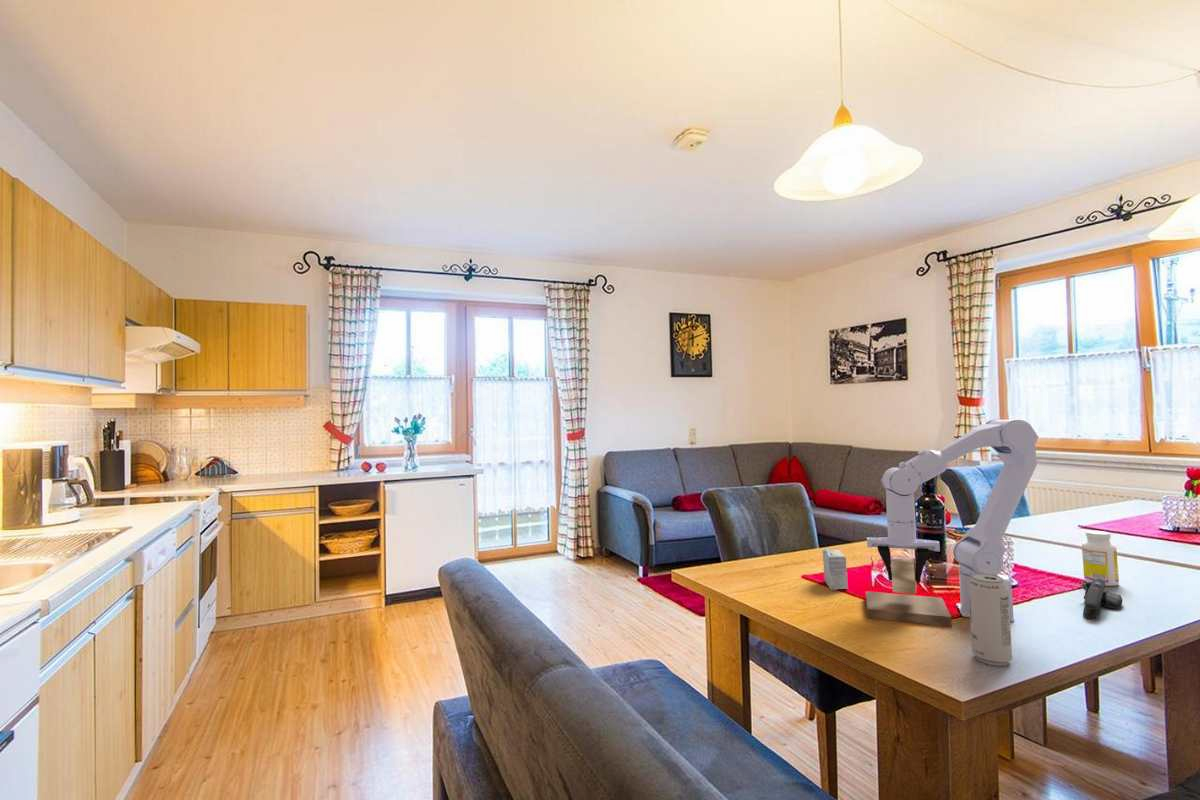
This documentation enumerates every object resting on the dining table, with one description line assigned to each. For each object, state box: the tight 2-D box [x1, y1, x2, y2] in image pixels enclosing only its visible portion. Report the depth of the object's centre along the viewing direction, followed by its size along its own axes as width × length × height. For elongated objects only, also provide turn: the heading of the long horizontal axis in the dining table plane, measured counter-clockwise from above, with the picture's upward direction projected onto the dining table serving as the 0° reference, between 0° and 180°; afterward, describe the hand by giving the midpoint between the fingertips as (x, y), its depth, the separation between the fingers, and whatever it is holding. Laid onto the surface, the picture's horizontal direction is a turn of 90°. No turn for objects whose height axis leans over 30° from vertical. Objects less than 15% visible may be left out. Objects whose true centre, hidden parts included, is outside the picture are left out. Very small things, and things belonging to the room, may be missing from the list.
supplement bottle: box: [1081, 530, 1120, 587], centre depth 142 cm, size 7×7×13 cm
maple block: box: [891, 555, 917, 595], centre depth 127 cm, size 4×4×7 cm
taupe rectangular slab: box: [865, 591, 953, 627], centre depth 127 cm, size 16×13×2 cm
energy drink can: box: [968, 574, 1013, 667], centre depth 102 cm, size 6×6×15 cm
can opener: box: [1080, 579, 1123, 620], centre depth 124 cm, size 18×7×6 cm, turn 129°
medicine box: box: [822, 549, 849, 591], centre depth 148 cm, size 8×4×9 cm, turn 168°
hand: (904, 580), depth 127 cm, fingers closed on maple block, 5 cm apart
